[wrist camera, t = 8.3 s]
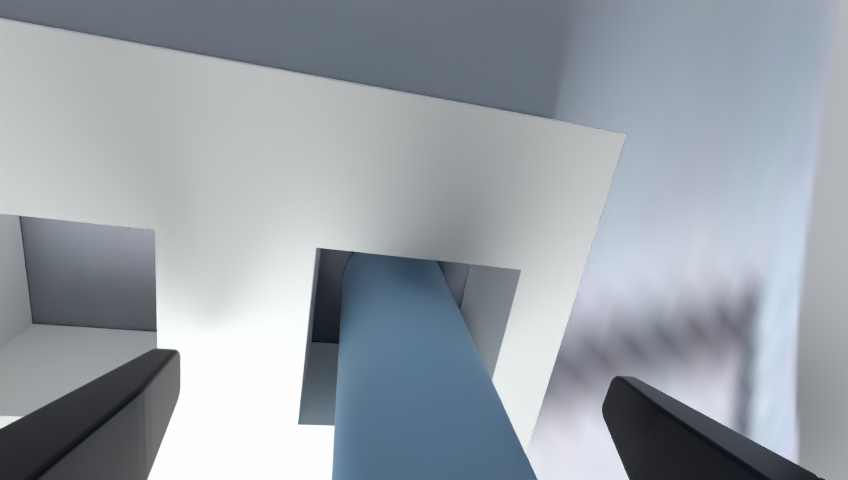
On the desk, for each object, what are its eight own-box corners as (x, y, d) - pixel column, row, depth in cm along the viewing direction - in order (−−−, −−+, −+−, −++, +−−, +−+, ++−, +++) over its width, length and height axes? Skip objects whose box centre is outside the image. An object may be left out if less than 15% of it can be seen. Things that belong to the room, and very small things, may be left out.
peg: (336, 321, 14) (301, 853, 4) (348, 229, 13) (334, 655, 3) (431, 328, 14) (581, 808, 5) (449, 242, 13) (677, 630, 4)
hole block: (-15, 416, 13) (-140, 531, 10) (-88, 1, 9) (-321, -40, 6) (473, 430, 16) (504, 521, 13) (554, 119, 12) (626, 133, 9)
